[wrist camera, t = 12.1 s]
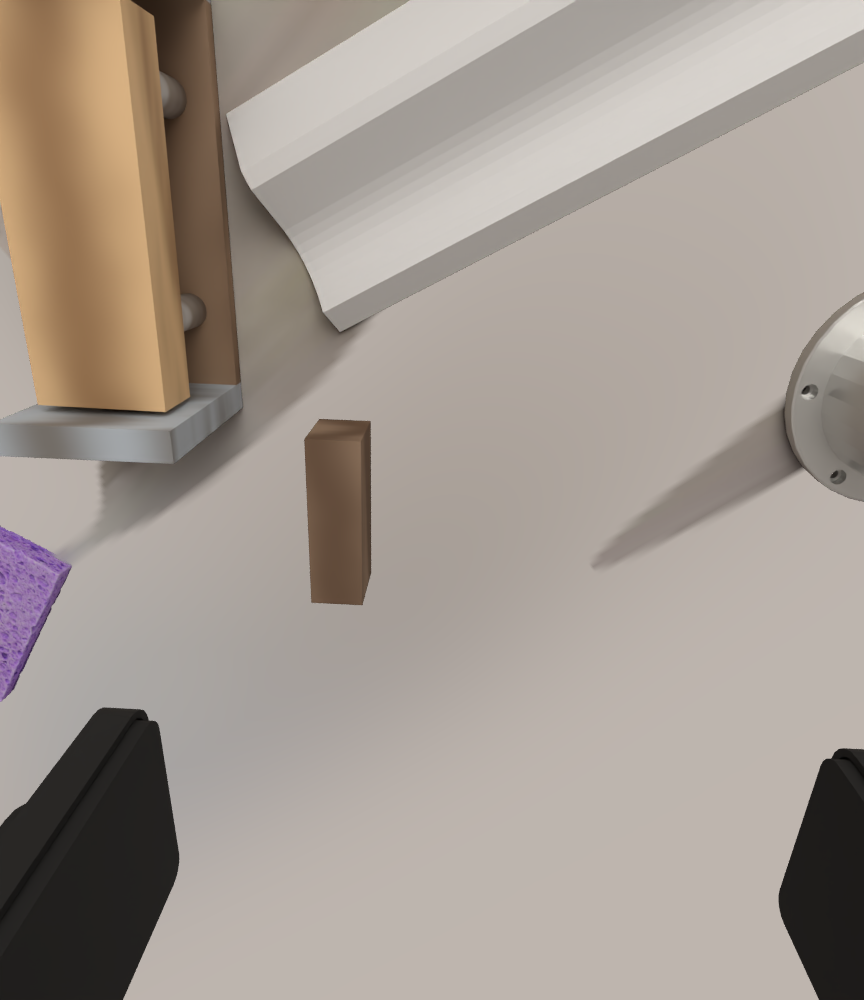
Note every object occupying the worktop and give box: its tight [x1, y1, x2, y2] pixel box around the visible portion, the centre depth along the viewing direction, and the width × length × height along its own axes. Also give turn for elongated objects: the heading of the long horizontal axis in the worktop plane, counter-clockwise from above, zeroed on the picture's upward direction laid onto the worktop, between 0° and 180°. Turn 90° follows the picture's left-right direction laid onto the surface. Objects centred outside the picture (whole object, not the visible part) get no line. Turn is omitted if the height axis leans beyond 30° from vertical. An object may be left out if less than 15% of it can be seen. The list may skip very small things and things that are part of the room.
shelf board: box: [0, 0, 190, 412], centre depth 29 cm, size 6×16×3 cm, turn 177°
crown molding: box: [226, 0, 864, 332], centre depth 31 cm, size 31×12×4 cm, turn 116°
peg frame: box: [0, 0, 243, 464], centre depth 30 cm, size 8×21×10 cm, turn 178°
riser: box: [304, 419, 371, 605], centre depth 39 cm, size 3×10×4 cm, turn 178°
